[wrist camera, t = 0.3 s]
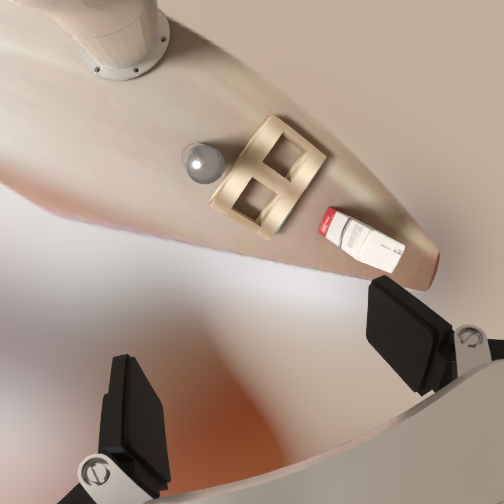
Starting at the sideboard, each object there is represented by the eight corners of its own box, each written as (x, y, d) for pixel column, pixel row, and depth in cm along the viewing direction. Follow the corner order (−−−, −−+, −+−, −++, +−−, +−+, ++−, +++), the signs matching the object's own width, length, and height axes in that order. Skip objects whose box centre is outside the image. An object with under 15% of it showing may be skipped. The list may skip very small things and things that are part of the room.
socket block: (264, 235, 47) (271, 242, 44) (208, 201, 42) (211, 206, 40) (318, 156, 44) (328, 158, 41) (267, 115, 40) (274, 114, 37)
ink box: (315, 232, 49) (354, 260, 39) (328, 205, 48) (370, 228, 37) (352, 247, 52) (393, 275, 42) (364, 222, 51) (407, 246, 41)
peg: (177, 150, 38) (180, 155, 29) (204, 138, 39) (216, 139, 29) (188, 175, 40) (195, 190, 30) (214, 164, 41) (230, 174, 31)
